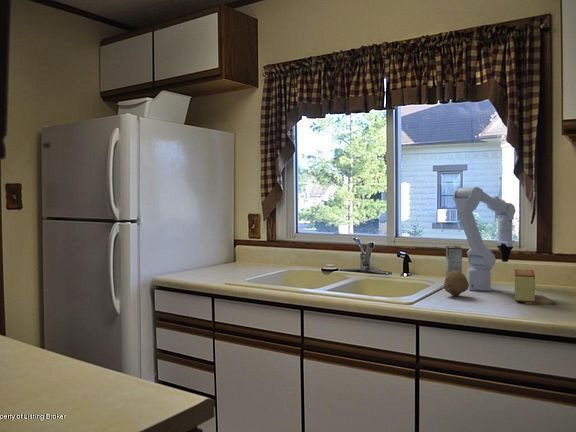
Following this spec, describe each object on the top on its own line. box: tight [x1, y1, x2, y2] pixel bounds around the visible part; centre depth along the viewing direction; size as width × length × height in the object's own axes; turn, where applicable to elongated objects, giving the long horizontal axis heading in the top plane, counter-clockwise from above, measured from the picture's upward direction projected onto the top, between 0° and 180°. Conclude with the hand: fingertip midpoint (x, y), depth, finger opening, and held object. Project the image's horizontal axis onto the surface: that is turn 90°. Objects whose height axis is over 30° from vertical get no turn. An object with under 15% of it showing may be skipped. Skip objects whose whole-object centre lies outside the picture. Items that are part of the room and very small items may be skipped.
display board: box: [521, 294, 557, 306], centre depth 188 cm, size 10×14×1 cm
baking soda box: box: [514, 268, 536, 303], centre depth 190 cm, size 10×6×16 cm
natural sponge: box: [443, 271, 469, 297], centre depth 198 cm, size 9×9×10 cm
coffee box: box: [445, 245, 463, 277], centre depth 231 cm, size 9×6×16 cm
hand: (504, 261), depth 220 cm, fingers closed
